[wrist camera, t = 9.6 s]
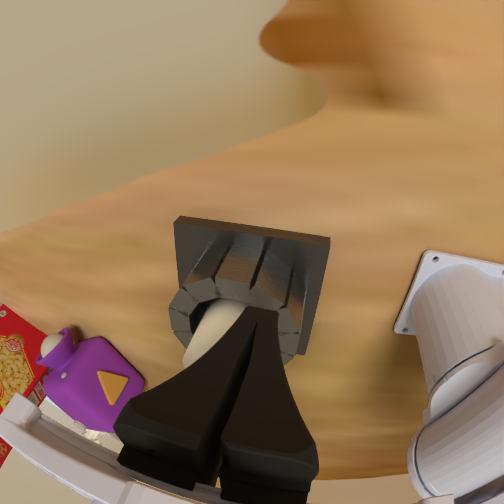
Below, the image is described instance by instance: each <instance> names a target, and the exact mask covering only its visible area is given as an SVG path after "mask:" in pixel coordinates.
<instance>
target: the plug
mask: <svg viewBox="0 0 504 504" xmlns="http://www.w3.org/2000/svg"><path fill="white" fill-rule="evenodd" d="M247 306H250V305H249V304H247V303H246V302H242V301H236V300H231V299H226V298H221V297H218V298H215V299H211V301H210V303H209V305H208V307H207V309H206V311H205V313H204V315H203V317H202V319H201V321H200V323H199V325H198V328H197V330H196V332H195V334H194V336H193V338H192V340H191V342H190V344H189V346H188V348H187V350H186V352H185V354H184V356H183V359H182V363H183V367H184V369H186V368H187V367H188V366H190V365H191V364H193V363H194V362H195V361H196V360H198V359H199V358H200V357H201V356H202V355H203V354H205V353H206V352H207V351H208V350H209V349H210V348H211V347H212V346H213V345H214V344H215V343H216V342H217V341H218V340H219V339H220V338H221V337H222V336H223V335H224V334H225V333H226V332H227V331H228V329H229V328H230V327H231V326H232V325H233V324H234V322H235V321H236V320H237V319H238V317H239V316H240V315H241V313H242V312H243V310H244V309H245V307H247Z"/></svg>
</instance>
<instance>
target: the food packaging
mask: <svg viewBox="0 0 504 504" xmlns="http://www.w3.org/2000/svg"><path fill="white" fill-rule="evenodd" d="M46 337H47V335H46V334H44V333H43V332H41V331H40V330H38V329H37V328H35V327H34V326H32V325H31V324H30V323H28V322H27V321H25V320H24V319H23V318H21V317H20V316H19V315H17V314H16V313H14V312H13V311H12V310H11V309H9V308H8V307H7V306H5V305H4V304H2V305H1V306H0V415H1V413H2V412H3V410H4V409H5V407H6V406H7V405H8V403H9V402H10V400H11V399H12V398H13V396H14V395H15V393H16V392H18V393H20V394H21V395H23V396H24V397H26V398H27V399H29V400H30V401H32V402H33V403H34V404H35V405H36V406H37V407H39V406H40V404H41V403H42V401H43V400H44V398H45V397H46V394H45V392H44V390H43V384H44V381H45V380H46V378H47V377H48V375H49V374H50V372H51V371H52V370H53V368H51V367H46V366H42V365H39V364H37V363H36V358H37V356H38V355H39V353H40V351H41V345H42V343H43V341H44V339H45V338H46ZM12 448H13V447H11V446H10V445H9V444H8V443H7V442H6V441H5V440H3V439H2V438H1V437H0V468H1V466H2V464H3V462H4V461H5V459H6V457H7V456H8V454H9V452H10V451H11V449H12Z"/></svg>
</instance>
